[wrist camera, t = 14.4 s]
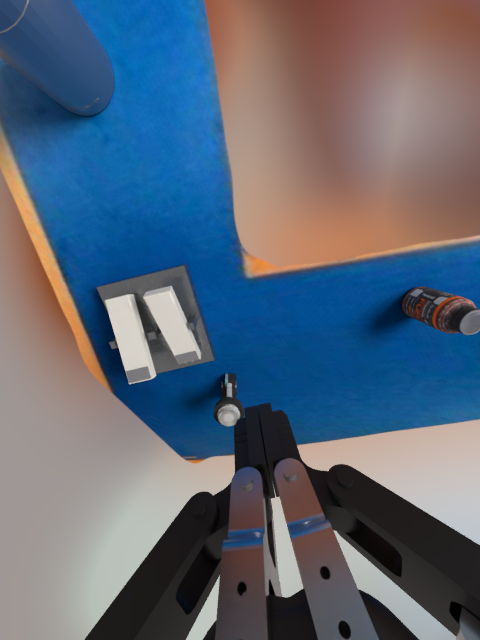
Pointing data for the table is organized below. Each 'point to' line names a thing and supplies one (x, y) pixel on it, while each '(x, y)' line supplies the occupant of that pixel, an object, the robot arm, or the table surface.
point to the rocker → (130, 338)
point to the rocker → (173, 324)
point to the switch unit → (155, 339)
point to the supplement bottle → (442, 310)
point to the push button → (228, 403)
